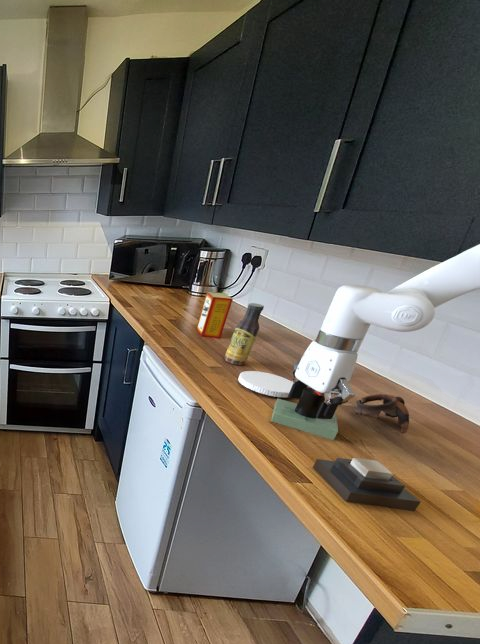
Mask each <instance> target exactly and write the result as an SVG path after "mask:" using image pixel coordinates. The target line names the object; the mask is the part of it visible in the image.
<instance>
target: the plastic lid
mask: <svg viewBox="0 0 480 644" xmlns="http://www.w3.org/2000/svg"><path fill="white" fill-rule="evenodd" d="M238 382H239V383H240V384H241V386H243V387H244V388H247V389H249V390H251V391H253V392H256V393H259V394H261V395H266V396H270V397H275V398H276V397H277V398H284V399H285V398H289V397H288V395H289V392H290V390H291V388H292V385H293V382H292V380H290V379H288V378H285V377H283V376H279V375H277V374H274V373H269V372H264V371H260V370H259V371H258V370H245V371H241V372H240V373H239V376H238Z"/></svg>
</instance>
